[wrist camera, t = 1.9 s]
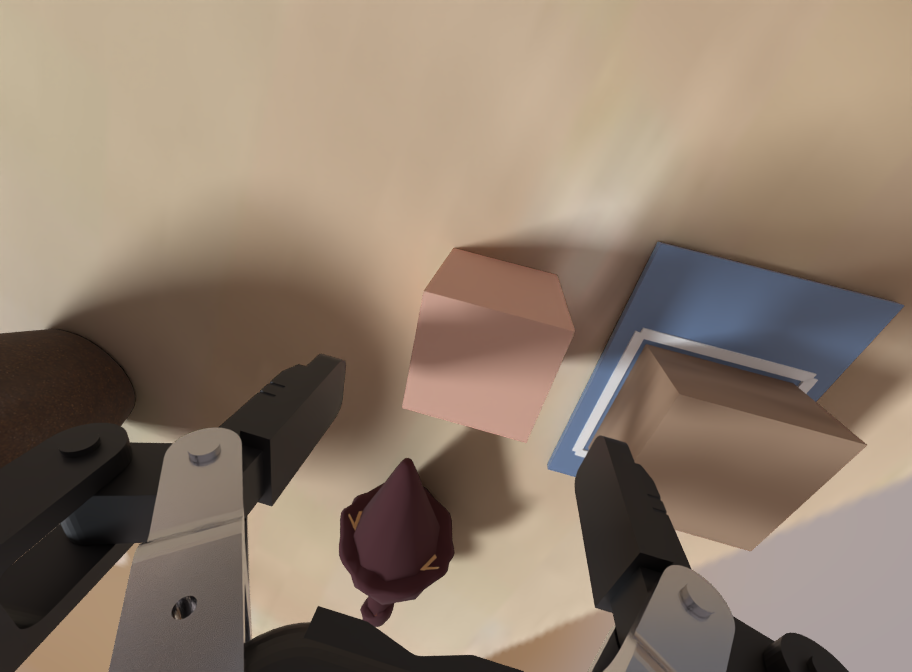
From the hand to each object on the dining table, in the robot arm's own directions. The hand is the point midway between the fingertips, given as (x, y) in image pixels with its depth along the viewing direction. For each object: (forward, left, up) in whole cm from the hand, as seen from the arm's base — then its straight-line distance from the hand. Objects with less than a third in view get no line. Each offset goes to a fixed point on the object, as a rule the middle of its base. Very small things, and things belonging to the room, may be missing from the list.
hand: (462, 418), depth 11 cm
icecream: (+15, -2, -8) cm, 17 cm away
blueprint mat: (+2, +11, -8) cm, 14 cm away
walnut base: (+3, +11, -7) cm, 14 cm away
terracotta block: (0, 0, -8) cm, 8 cm away
